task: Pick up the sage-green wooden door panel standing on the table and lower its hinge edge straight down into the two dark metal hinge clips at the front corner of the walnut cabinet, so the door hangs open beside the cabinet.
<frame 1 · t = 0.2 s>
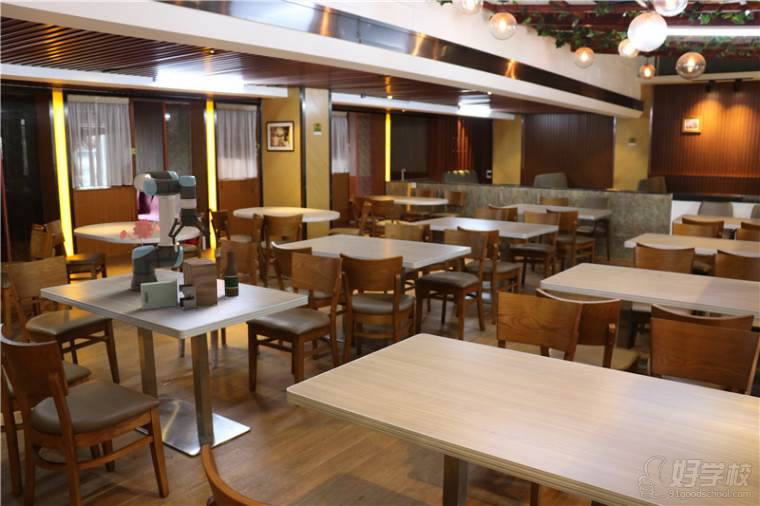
hand: (190, 250, 320), 27 cm above the table, fingers open, 13 cm apart
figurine: (145, 276, 392), on the table
beer bottle: (231, 295, 344), on the table
door: (159, 306, 319), on the table
cabinet: (200, 302, 327), on the table
hinge clips: (188, 308, 315), on the table
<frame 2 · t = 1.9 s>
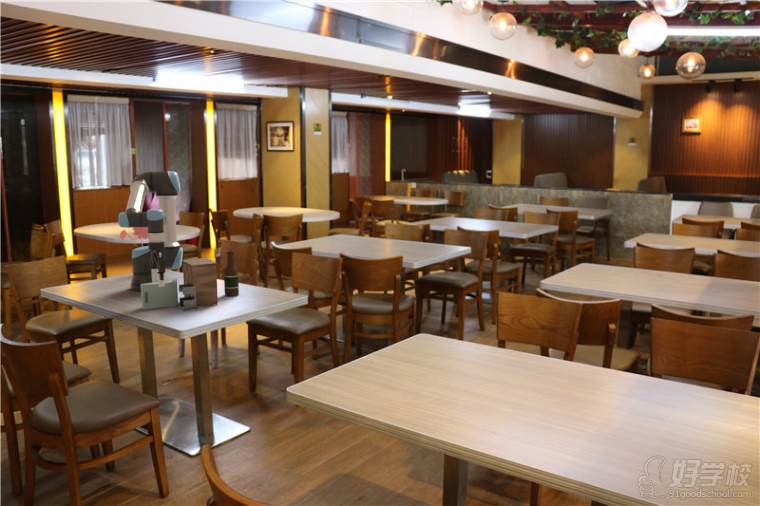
hand: (158, 284, 316), 11 cm above the table, fingers open, 13 cm apart
nothing on the table moved.
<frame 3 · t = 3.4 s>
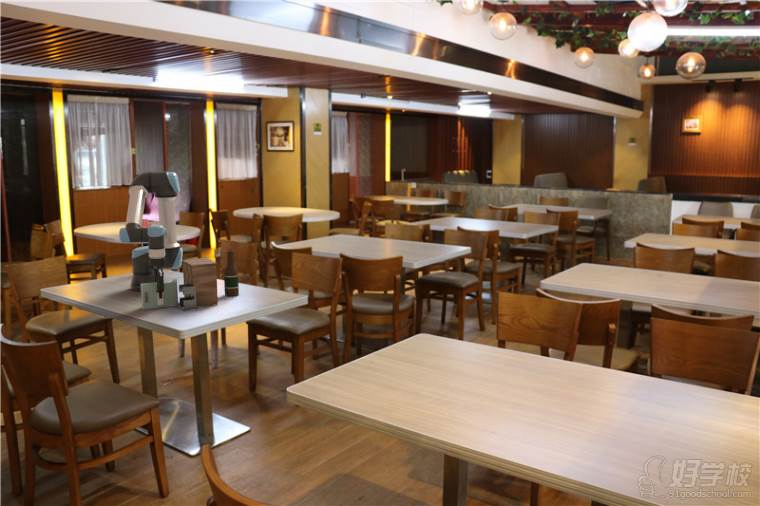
hand: (159, 303, 318), 1 cm above the table, fingers closed on door, 4 cm apart
door: (159, 306, 319), on the table, touching gripper
everything else where it was.
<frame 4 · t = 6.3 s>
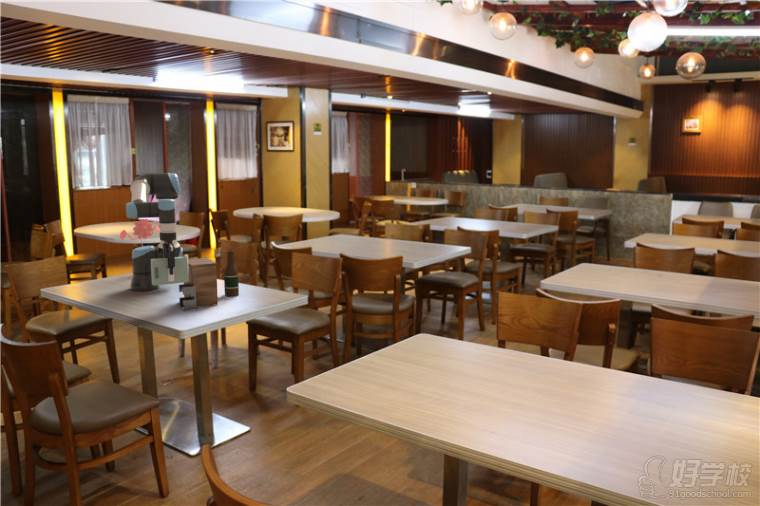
hand: (170, 280, 308), 15 cm above the table, fingers closed on door, 4 cm apart
door: (170, 283, 309), point 14 cm above the table, touching gripper
everything else where it was.
when the fingers open (3 cm above the table, at t = 9.3 s): door drops 1 cm, on the table.
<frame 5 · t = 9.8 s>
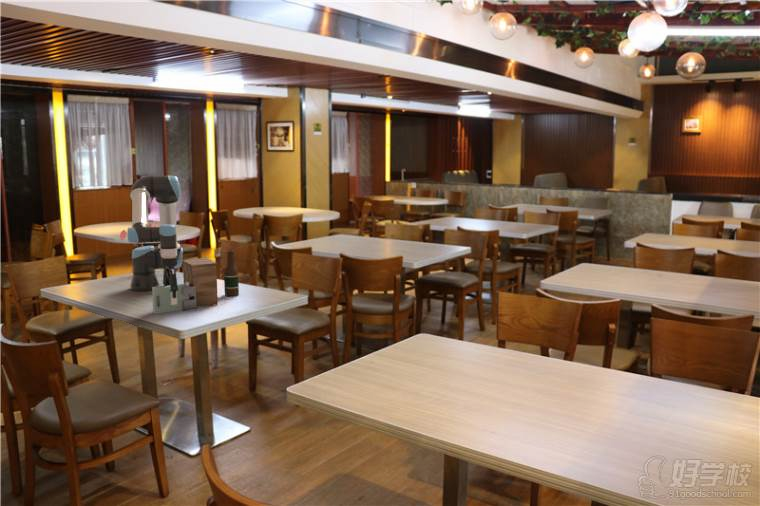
hand: (171, 301, 310), 4 cm above the table, fingers open, 11 cm apart
door: (171, 310, 311), on the table
everything else where it was.
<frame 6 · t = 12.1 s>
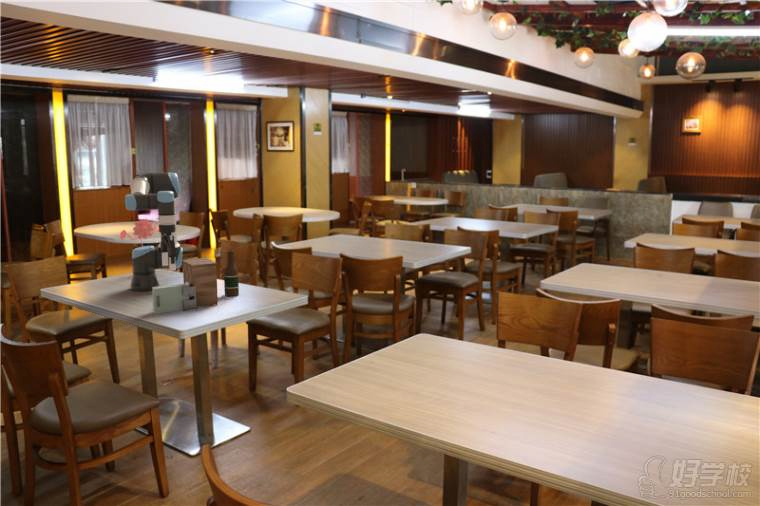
hand: (169, 268, 308), 21 cm above the table, fingers open, 13 cm apart
nothing on the table moved.
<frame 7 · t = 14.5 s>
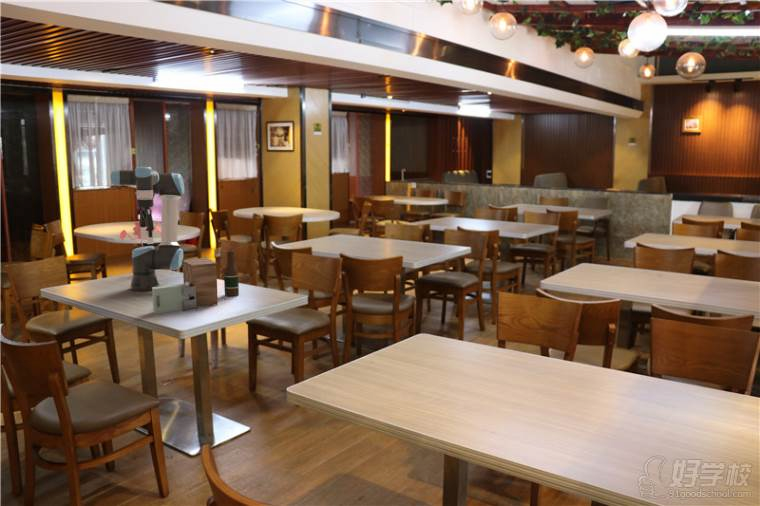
hand: (147, 242, 317), 32 cm above the table, fingers open, 13 cm apart
nothing on the table moved.
at the end: door 0.1 cm from the target spot on the table beside the hinge clips, on the table; door tilted 0°; the gripper is holding nothing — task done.
